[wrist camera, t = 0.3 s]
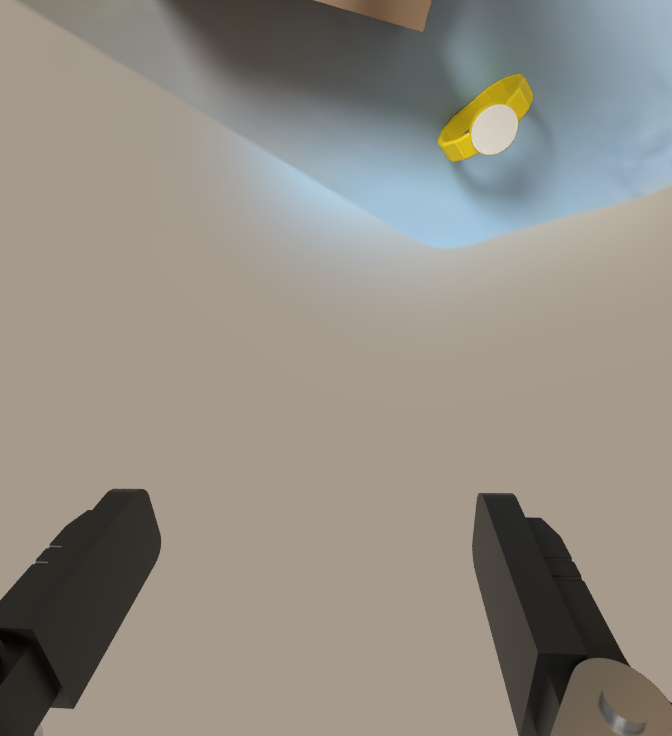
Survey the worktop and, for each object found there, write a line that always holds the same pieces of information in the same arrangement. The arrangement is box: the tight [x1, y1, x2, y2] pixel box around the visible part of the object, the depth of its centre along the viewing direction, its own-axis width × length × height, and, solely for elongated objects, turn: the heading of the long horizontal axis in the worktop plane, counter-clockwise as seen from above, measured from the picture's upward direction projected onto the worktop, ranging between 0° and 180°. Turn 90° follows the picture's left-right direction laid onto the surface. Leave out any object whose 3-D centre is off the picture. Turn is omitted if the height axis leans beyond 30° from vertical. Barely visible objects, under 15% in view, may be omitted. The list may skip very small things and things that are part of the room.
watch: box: [438, 74, 534, 162], centre depth 28 cm, size 6×3×6 cm, turn 131°
